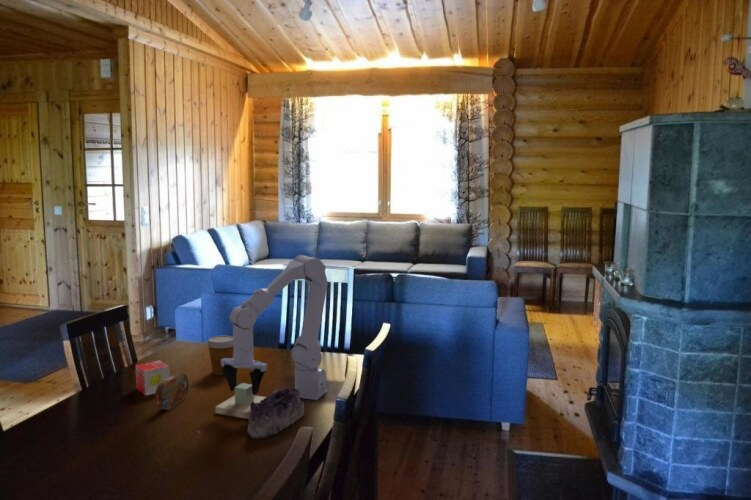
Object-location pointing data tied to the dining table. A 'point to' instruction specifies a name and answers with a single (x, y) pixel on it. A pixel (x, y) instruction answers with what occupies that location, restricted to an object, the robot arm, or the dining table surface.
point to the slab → (236, 407)
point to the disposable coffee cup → (220, 351)
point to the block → (244, 394)
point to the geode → (275, 413)
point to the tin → (171, 391)
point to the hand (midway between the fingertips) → (244, 391)
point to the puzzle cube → (151, 376)
